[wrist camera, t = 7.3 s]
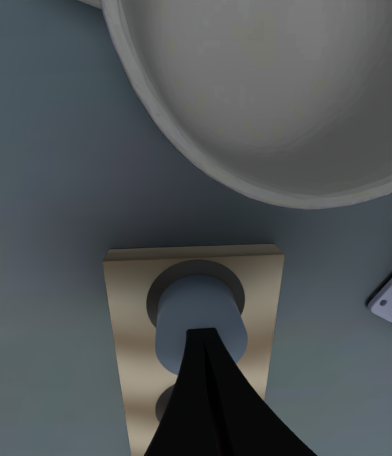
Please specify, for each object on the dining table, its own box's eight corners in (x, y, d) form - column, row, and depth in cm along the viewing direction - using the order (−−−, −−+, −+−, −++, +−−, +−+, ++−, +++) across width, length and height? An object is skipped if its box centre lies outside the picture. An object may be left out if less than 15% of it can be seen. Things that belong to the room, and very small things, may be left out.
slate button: (156, 276, 13) (151, 309, 11) (236, 272, 13) (251, 304, 11) (160, 340, 15) (157, 382, 12) (232, 335, 15) (244, 375, 12)
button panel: (109, 249, 14) (101, 262, 13) (274, 243, 15) (285, 255, 14) (141, 483, 23) (138, 507, 21) (246, 471, 24) (251, 493, 22)
